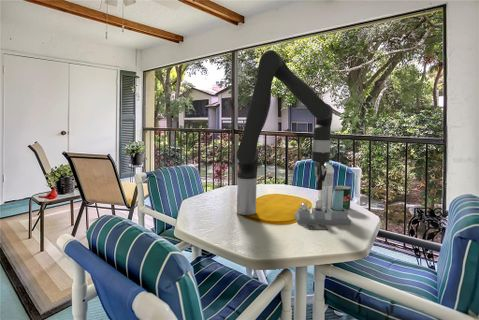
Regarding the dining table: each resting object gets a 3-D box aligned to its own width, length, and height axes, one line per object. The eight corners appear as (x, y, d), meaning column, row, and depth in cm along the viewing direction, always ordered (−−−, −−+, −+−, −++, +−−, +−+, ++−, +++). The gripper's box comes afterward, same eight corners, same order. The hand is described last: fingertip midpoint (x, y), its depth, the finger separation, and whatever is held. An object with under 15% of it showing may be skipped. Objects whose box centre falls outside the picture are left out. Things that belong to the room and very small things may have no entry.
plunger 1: (300, 215, 132) (301, 204, 132) (299, 213, 135) (300, 203, 134) (307, 216, 132) (307, 205, 131) (306, 213, 135) (306, 203, 134)
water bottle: (332, 212, 146) (335, 162, 142) (317, 211, 147) (320, 161, 144) (331, 208, 153) (333, 160, 149) (317, 207, 154) (319, 159, 150)
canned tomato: (341, 204, 160) (343, 184, 158) (353, 208, 153) (354, 187, 151) (330, 206, 156) (331, 185, 155) (341, 210, 149) (342, 189, 148)
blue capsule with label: (333, 218, 132) (334, 189, 130) (330, 215, 137) (332, 187, 135) (343, 218, 132) (345, 189, 130) (340, 215, 136) (342, 187, 134)
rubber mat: (308, 229, 124) (308, 228, 124) (306, 225, 129) (306, 224, 129) (328, 230, 124) (328, 229, 124) (325, 225, 129) (325, 224, 129)
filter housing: (297, 223, 131) (298, 211, 130) (294, 216, 140) (295, 205, 139) (351, 225, 130) (351, 212, 129) (344, 217, 139) (345, 206, 138)
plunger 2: (316, 211, 132) (316, 200, 131) (314, 209, 135) (315, 198, 134) (322, 211, 132) (323, 200, 131) (320, 209, 134) (321, 198, 134)
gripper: (309, 148, 136) (307, 186, 138) (315, 152, 123) (313, 193, 125) (326, 148, 135) (324, 186, 138) (334, 152, 122) (331, 193, 125)
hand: (319, 189), depth 131 cm, fingers closed
